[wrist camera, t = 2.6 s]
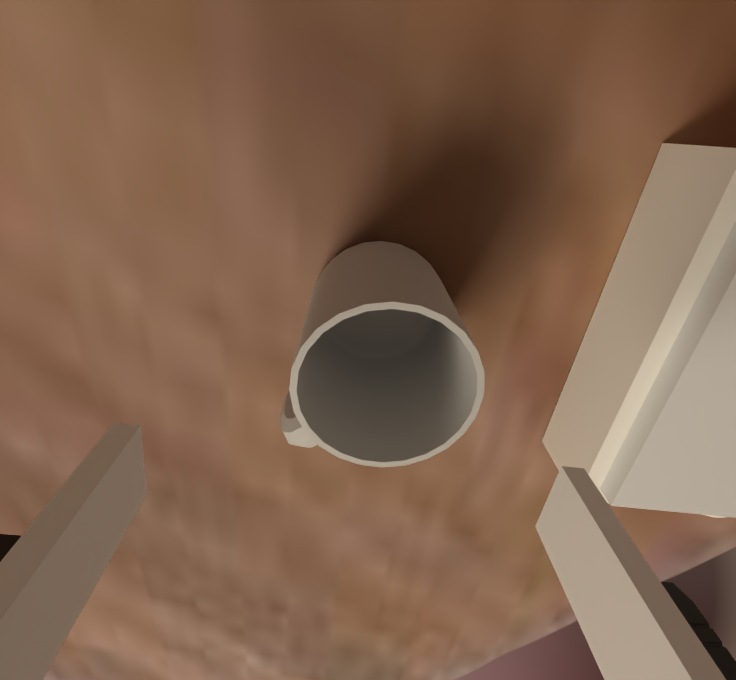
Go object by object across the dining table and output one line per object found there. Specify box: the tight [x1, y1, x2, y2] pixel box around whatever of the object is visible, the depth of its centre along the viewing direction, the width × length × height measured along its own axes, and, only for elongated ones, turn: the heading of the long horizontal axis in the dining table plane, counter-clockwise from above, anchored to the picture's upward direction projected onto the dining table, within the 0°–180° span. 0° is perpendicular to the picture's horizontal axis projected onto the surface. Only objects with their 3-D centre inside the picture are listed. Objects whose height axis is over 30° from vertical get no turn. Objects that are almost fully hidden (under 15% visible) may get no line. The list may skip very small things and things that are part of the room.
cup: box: [280, 241, 484, 467], centre depth 21 cm, size 7×10×9 cm
